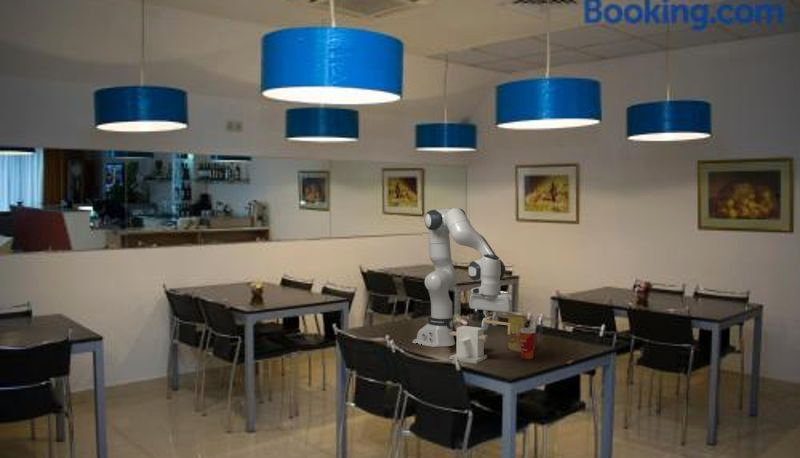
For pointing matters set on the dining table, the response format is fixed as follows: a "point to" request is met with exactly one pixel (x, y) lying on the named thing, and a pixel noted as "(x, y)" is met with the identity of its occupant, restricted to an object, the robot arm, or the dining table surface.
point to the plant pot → (516, 323)
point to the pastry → (515, 343)
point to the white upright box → (469, 344)
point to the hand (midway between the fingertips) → (490, 320)
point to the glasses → (488, 320)
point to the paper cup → (527, 342)
